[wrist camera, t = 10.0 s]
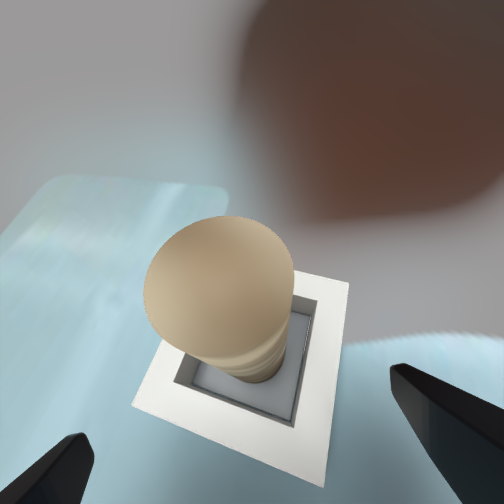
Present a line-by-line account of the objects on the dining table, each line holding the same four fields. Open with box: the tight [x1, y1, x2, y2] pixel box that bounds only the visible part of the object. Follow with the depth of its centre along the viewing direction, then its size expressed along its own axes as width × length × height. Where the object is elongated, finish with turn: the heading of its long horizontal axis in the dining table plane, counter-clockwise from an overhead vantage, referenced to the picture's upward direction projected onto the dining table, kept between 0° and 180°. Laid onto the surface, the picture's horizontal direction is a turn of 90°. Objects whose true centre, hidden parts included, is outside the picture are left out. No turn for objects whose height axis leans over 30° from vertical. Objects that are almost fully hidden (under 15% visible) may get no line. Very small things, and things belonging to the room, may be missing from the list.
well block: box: [131, 270, 349, 488], centre depth 19 cm, size 12×12×4 cm
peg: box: [143, 216, 295, 384], centre depth 14 cm, size 5×5×14 cm
